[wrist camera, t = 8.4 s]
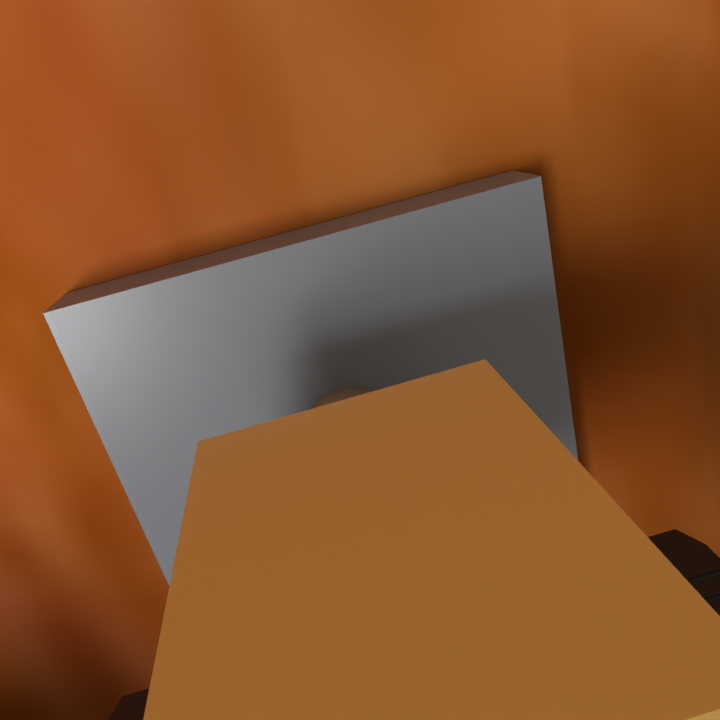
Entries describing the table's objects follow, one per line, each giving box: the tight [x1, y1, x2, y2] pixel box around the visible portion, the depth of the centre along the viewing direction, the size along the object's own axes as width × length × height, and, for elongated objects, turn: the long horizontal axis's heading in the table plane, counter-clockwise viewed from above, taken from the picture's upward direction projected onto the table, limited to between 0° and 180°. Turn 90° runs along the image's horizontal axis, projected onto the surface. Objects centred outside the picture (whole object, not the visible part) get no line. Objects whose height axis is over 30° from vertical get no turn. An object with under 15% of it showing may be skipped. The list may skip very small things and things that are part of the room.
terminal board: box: [43, 170, 578, 586], centre depth 18 cm, size 13×22×8 cm, turn 14°
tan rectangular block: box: [143, 359, 720, 720], centre depth 10 cm, size 6×6×8 cm
